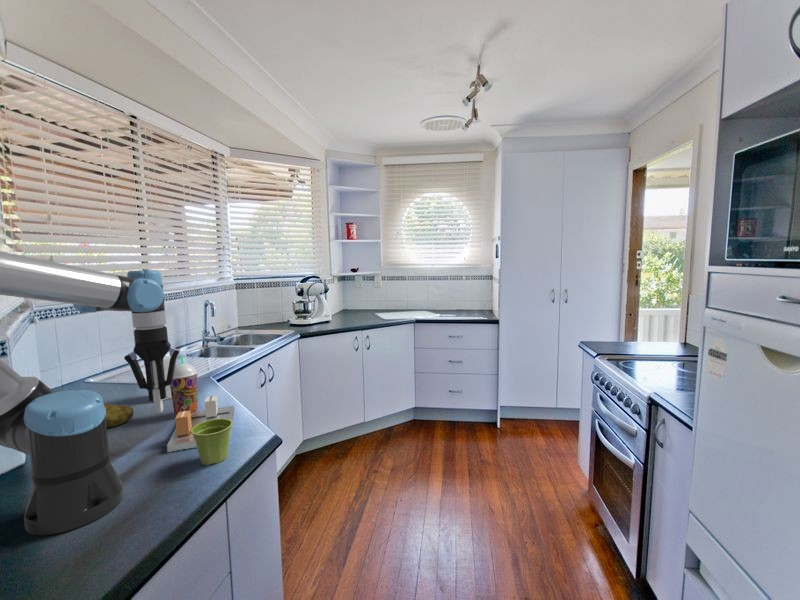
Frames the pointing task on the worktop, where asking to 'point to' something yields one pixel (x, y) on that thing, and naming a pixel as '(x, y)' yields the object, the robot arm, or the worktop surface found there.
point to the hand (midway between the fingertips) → (159, 410)
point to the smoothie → (184, 388)
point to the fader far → (211, 406)
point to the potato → (117, 414)
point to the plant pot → (212, 440)
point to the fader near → (183, 423)
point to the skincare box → (166, 366)
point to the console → (196, 418)
